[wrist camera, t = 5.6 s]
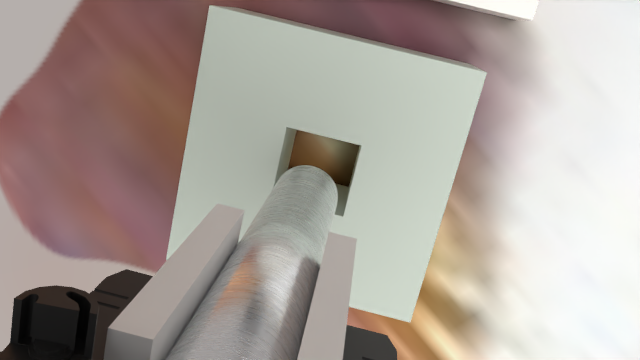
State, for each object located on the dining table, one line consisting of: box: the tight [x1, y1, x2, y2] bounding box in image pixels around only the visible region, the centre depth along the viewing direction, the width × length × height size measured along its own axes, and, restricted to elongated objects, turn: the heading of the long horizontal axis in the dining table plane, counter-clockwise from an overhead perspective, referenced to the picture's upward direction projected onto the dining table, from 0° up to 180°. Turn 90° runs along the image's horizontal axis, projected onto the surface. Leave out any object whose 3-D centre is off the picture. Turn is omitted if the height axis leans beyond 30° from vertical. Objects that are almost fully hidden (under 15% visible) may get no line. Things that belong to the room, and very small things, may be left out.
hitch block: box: [166, 5, 487, 322], centre depth 29 cm, size 12×12×5 cm
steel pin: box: [165, 165, 338, 360], centre depth 14 cm, size 4×4×16 cm
